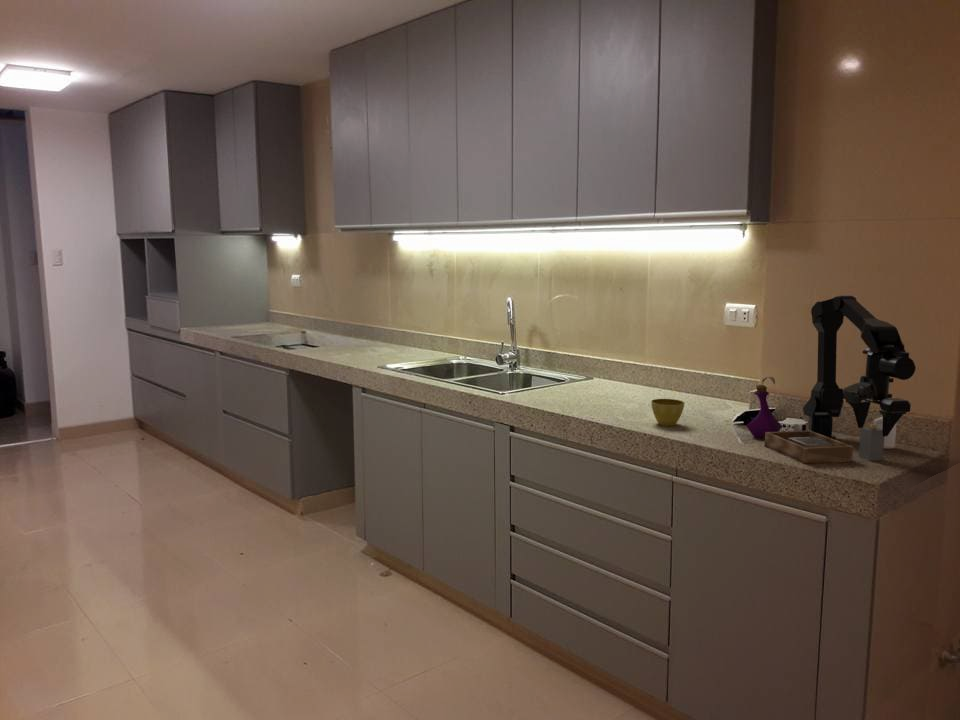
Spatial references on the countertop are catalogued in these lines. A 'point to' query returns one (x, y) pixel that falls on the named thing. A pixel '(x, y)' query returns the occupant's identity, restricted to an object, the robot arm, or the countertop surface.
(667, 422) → the flower pot
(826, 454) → the walnut box
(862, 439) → the grey box with knob
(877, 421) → the eye dropper bottle
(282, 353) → the countertop surface
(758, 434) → the perfume bottle
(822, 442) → the collar
